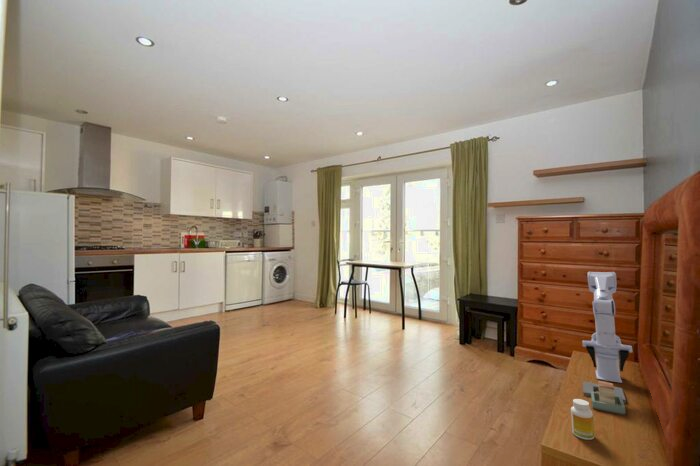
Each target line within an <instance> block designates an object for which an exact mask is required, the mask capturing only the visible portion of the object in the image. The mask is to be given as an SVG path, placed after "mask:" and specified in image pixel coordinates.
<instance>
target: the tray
mask: <svg viewBox="0 0 700 466" xmlns="http://www.w3.org/2000/svg"><path fill="white" fill-rule="evenodd" d="M590 399H591V407H592V409H594V410H597V411H602V412H607V413H612V414H615V415H616V414H617V415H621V416H626V407H625V403H623V400H622V397H620V396H615V405H614V404H609V403H603V402H600V401H599V391H598V392H597V391H594V392H592V391H591V397H590Z"/></svg>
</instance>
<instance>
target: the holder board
mask: <svg viewBox="0 0 700 466" xmlns="http://www.w3.org/2000/svg"><path fill="white" fill-rule="evenodd" d="M595 390H596V391H599V386H598V383H595V382H588V381H584V380H583V381H582V392H583V396H584V397H590V398H591V391H592V392H595ZM614 395H615V396H620V397H622V400H623V403H624V404H627V401H626V397H625V394H624V390H623V387H618V386H614Z"/></svg>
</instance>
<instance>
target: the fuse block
mask: <svg viewBox="0 0 700 466" xmlns="http://www.w3.org/2000/svg"><path fill="white" fill-rule="evenodd" d="M597 382H598V383H597V384H598V386H599V390H598V393H599V401H600V402H603V403H609V404H614V405H615V395H614V387H615V386H614V382H613V383H611V382H609V381H607V382H606V381H603V380H601V381H600V380H598V381H597Z"/></svg>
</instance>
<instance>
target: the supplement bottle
mask: <svg viewBox="0 0 700 466" xmlns="http://www.w3.org/2000/svg"><path fill="white" fill-rule="evenodd" d="M572 404H573V406H571V407H570V418H571V432H572V434H573V435H574V436H576V437H577V438H579V439H582V440H587V441H591V440H594V438H595V427H594V413H593V411H592V410H591V408H590V403H589V401H587V400H584V399H583V398H582V399H581V398H573V400H572Z"/></svg>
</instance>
